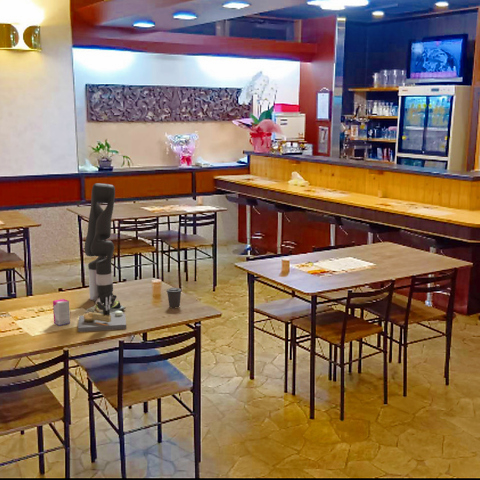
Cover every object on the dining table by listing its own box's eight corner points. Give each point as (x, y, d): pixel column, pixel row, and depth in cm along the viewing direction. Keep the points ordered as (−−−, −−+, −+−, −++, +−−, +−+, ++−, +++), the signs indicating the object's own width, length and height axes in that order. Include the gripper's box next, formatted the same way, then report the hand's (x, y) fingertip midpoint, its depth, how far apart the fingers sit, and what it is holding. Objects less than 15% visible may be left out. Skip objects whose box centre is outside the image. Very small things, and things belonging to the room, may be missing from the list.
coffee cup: (179, 309, 318) (179, 291, 316) (164, 308, 319) (164, 290, 317) (184, 305, 326) (183, 286, 324) (169, 304, 327) (169, 286, 325)
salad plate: (107, 320, 302) (106, 311, 301) (78, 315, 309) (77, 306, 308) (129, 309, 319) (129, 301, 318) (101, 305, 326) (101, 296, 326)
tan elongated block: (88, 318, 297) (88, 310, 296) (113, 322, 291) (112, 314, 290) (81, 321, 292) (81, 313, 292) (106, 325, 287) (106, 317, 286)
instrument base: (79, 319, 302) (79, 312, 301) (124, 316, 306) (124, 309, 306) (78, 332, 284) (77, 324, 284) (126, 328, 289) (126, 321, 288)
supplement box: (70, 323, 296) (69, 300, 294) (59, 326, 292) (58, 303, 290) (64, 320, 300) (63, 298, 298) (53, 323, 296) (52, 300, 294)
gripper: (108, 277, 296) (110, 311, 300) (88, 284, 285) (90, 319, 289) (120, 279, 292) (122, 314, 296) (100, 287, 281) (102, 322, 285)
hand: (106, 317), depth 292 cm, fingers closed
